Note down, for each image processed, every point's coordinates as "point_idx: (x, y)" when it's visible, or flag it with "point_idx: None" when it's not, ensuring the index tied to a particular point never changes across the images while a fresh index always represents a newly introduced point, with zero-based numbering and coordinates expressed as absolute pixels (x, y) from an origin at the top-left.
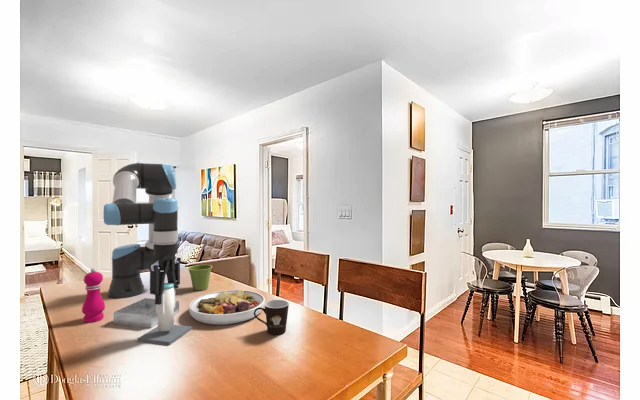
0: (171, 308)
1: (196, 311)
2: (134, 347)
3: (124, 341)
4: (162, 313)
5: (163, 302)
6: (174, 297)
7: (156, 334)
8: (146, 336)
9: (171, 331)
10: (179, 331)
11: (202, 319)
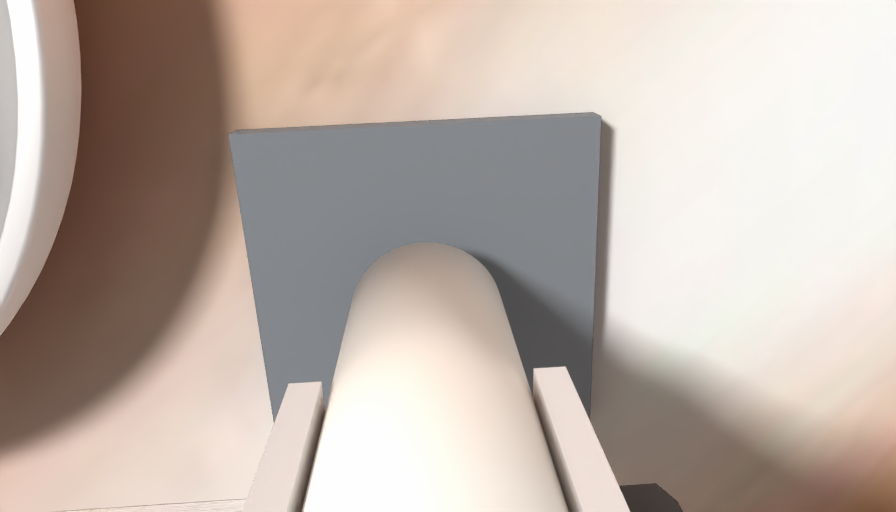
0: (444, 347)
1: (15, 208)
2: (676, 363)
3: None
4: (567, 375)
5: (596, 473)
6: (273, 488)
7: None
8: None
9: None
10: (374, 181)
11: (78, 73)
